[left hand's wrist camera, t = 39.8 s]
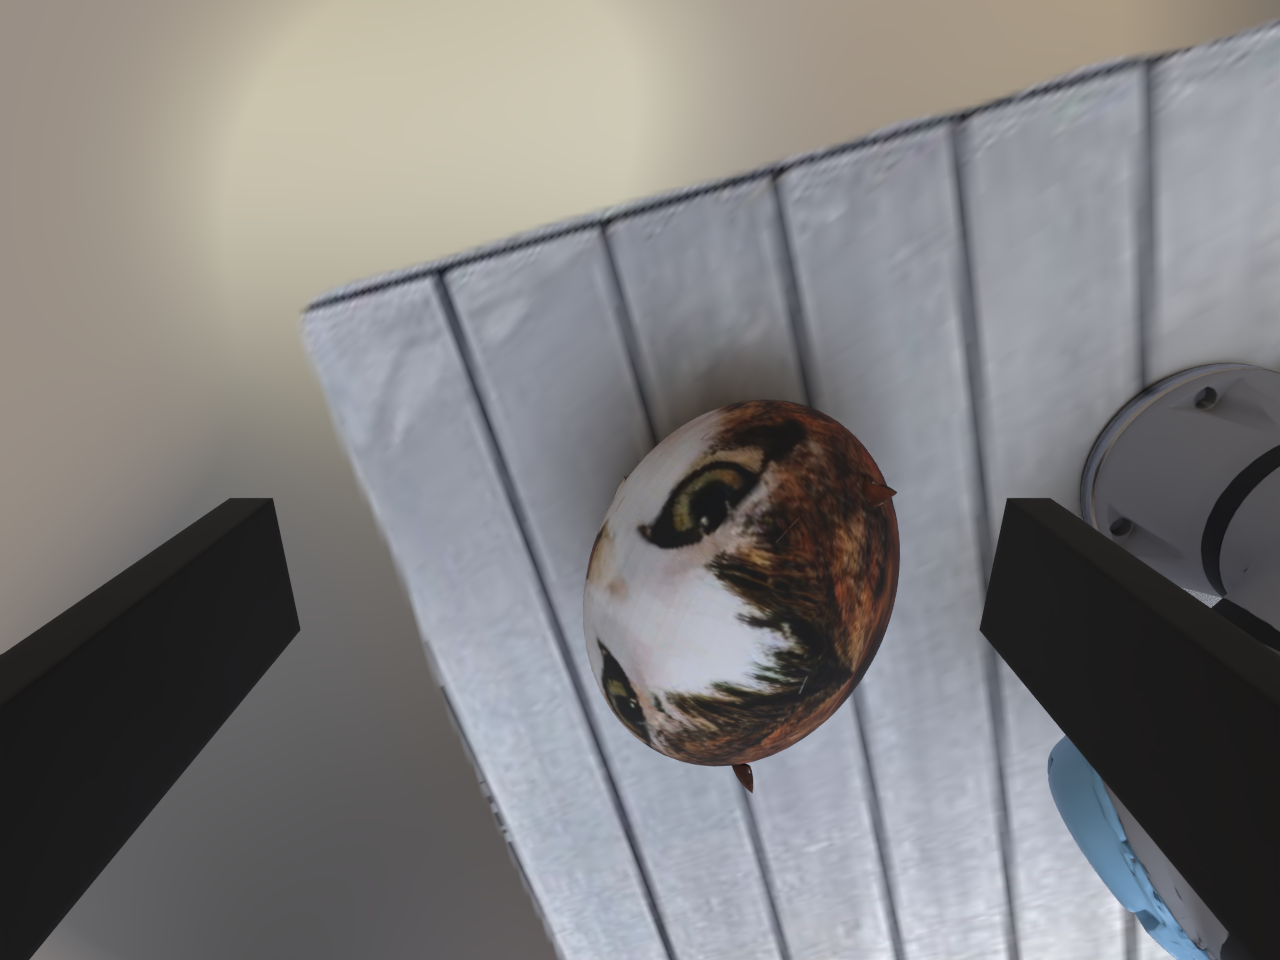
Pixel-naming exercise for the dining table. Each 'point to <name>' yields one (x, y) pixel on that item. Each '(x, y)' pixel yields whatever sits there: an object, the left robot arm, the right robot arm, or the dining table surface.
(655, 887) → the dining table surface
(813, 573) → the cat face balloon
